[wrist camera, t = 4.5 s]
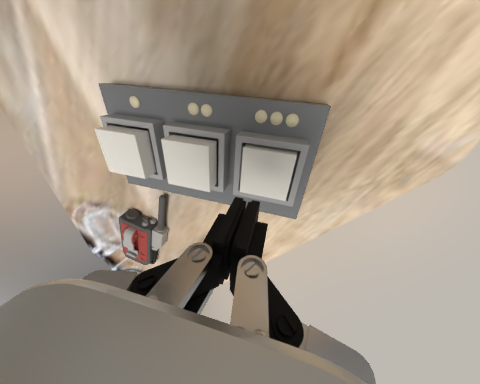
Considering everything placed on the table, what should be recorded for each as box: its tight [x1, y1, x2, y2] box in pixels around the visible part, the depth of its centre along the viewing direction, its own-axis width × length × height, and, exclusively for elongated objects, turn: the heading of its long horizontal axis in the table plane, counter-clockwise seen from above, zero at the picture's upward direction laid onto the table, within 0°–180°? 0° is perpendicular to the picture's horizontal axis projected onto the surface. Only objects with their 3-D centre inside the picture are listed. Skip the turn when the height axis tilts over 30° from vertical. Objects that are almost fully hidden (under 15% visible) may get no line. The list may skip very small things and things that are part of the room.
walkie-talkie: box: [119, 195, 169, 265], centre depth 33 cm, size 9×4×20 cm
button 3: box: [240, 143, 297, 201], centre depth 19 cm, size 5×5×2 cm
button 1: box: [95, 125, 156, 179], centre depth 21 cm, size 5×5×2 cm
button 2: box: [161, 135, 217, 192], centre depth 19 cm, size 5×5×2 cm
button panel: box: [99, 83, 331, 219], centre depth 21 cm, size 13×25×4 cm, turn 86°
